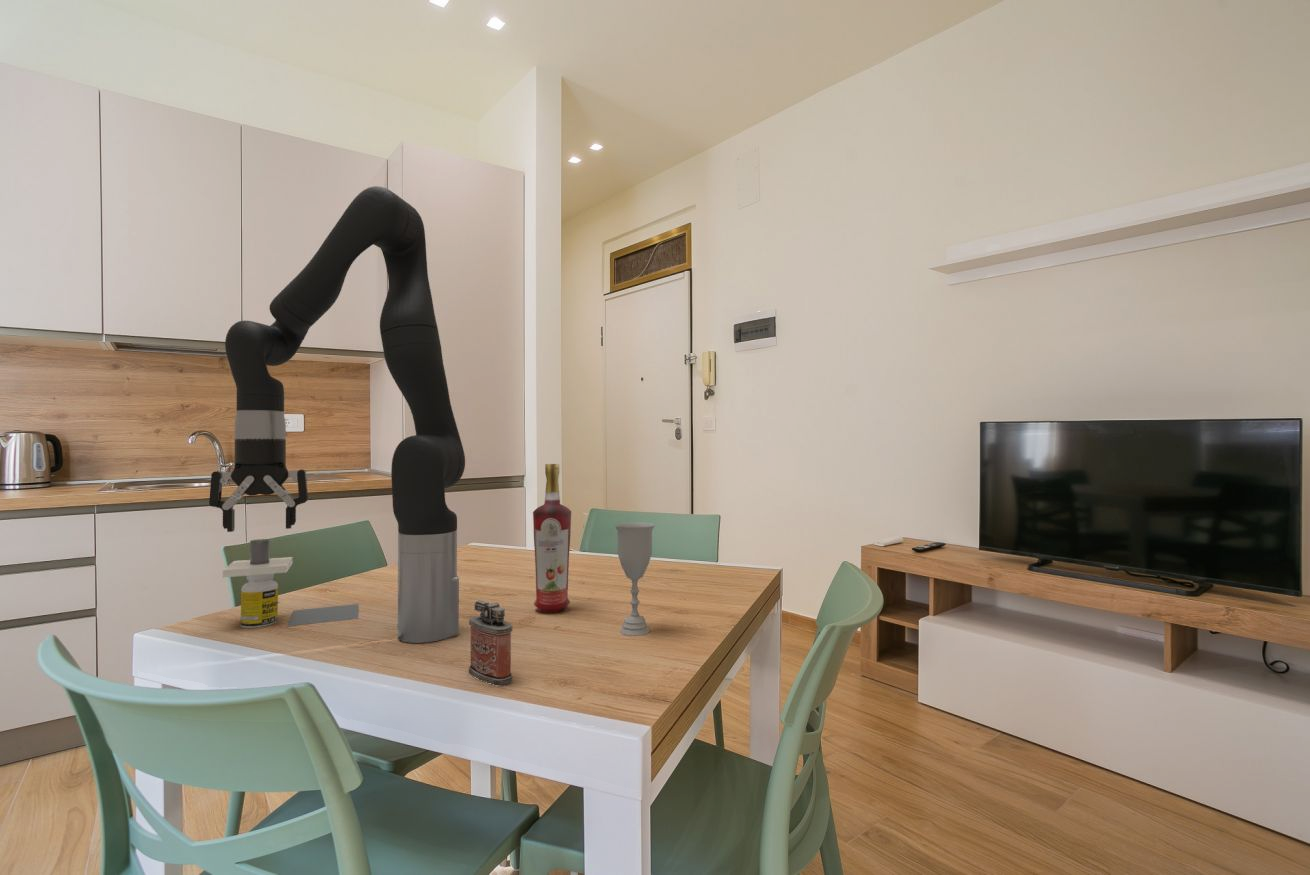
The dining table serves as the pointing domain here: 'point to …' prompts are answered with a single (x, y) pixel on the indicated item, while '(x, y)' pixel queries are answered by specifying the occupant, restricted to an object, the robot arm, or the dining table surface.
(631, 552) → the chalice
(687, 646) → the dining table surface
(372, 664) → the dining table surface
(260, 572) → the lid
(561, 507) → the liquor
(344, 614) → the mat
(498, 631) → the lighter
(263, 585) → the supplement bottle
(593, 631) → the dining table surface
